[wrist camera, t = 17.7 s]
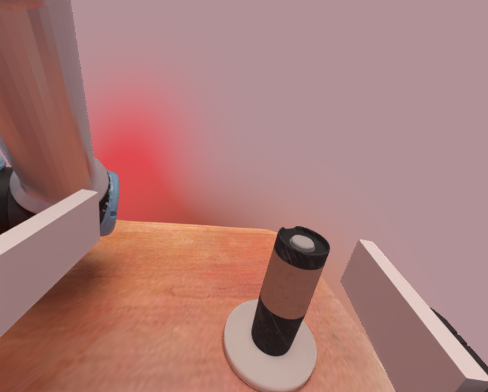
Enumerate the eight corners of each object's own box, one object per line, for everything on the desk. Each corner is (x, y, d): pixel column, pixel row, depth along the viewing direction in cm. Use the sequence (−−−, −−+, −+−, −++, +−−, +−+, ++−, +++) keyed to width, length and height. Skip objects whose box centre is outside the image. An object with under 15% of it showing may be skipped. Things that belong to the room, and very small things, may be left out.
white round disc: (207, 324, 44) (208, 316, 43) (272, 296, 53) (274, 289, 52) (260, 419, 32) (263, 411, 32) (332, 363, 42) (336, 356, 41)
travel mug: (288, 367, 37) (329, 263, 30) (242, 344, 40) (271, 241, 32) (296, 329, 44) (332, 236, 37) (257, 311, 46) (283, 219, 39)
